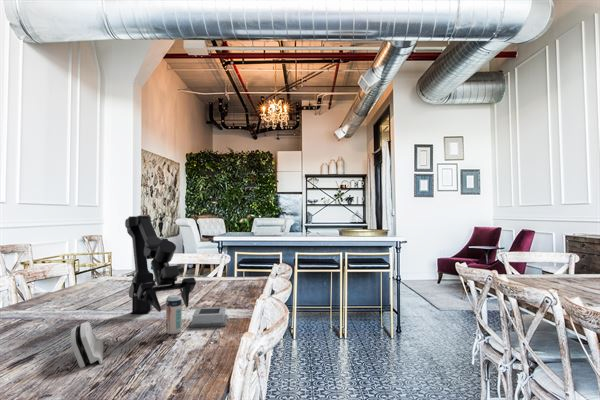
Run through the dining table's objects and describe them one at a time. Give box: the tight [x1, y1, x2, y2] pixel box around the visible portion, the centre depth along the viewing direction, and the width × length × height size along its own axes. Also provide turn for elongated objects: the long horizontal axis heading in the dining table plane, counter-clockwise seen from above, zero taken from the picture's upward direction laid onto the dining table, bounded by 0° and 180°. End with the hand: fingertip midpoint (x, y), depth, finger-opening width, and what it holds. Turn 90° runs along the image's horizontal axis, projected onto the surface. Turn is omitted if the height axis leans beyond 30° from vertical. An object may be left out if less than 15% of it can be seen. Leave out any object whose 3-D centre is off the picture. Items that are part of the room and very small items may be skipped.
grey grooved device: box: [69, 321, 105, 369], centre depth 104 cm, size 17×5×10 cm, turn 26°
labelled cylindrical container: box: [165, 294, 183, 335], centre depth 125 cm, size 5×5×12 cm
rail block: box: [189, 306, 228, 329], centre depth 136 cm, size 12×12×4 cm
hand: (174, 308), depth 124 cm, fingers open, 9 cm apart
